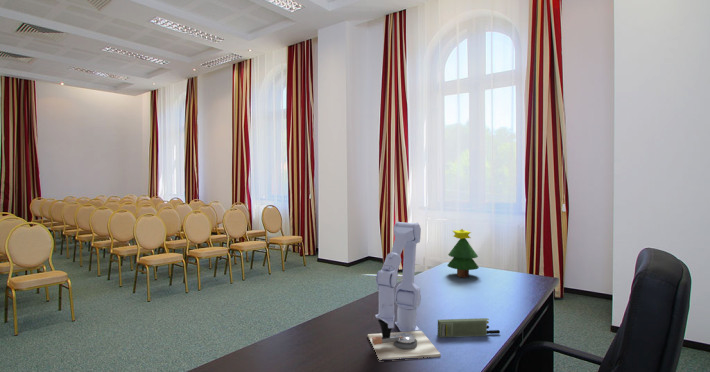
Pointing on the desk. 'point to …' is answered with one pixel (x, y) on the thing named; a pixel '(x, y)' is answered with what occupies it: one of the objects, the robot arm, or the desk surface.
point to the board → (413, 353)
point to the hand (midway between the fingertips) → (386, 339)
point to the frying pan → (395, 339)
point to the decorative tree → (462, 255)
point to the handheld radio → (464, 327)
